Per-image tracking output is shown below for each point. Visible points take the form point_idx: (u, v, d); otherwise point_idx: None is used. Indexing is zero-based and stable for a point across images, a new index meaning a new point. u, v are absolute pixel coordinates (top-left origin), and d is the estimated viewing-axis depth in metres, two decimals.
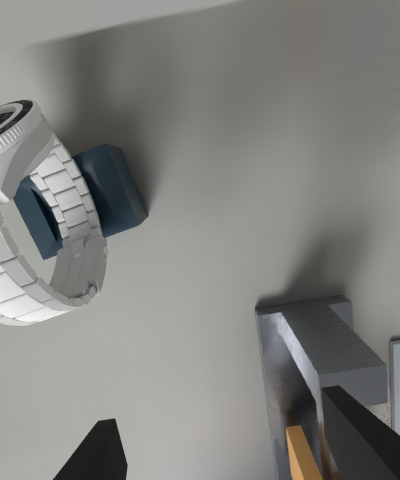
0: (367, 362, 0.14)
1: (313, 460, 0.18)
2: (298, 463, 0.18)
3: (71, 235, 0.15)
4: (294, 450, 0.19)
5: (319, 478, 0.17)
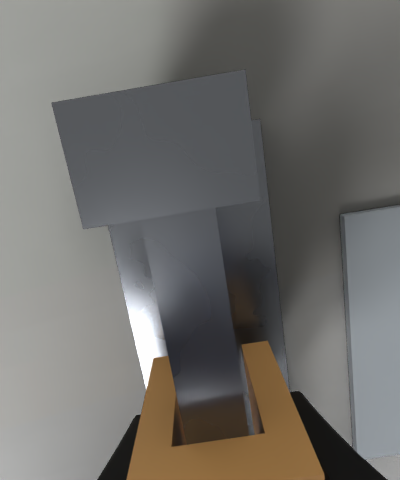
0: None
1: (171, 404, 0.09)
2: (143, 410, 0.09)
3: None
4: (148, 390, 0.10)
5: (167, 434, 0.08)
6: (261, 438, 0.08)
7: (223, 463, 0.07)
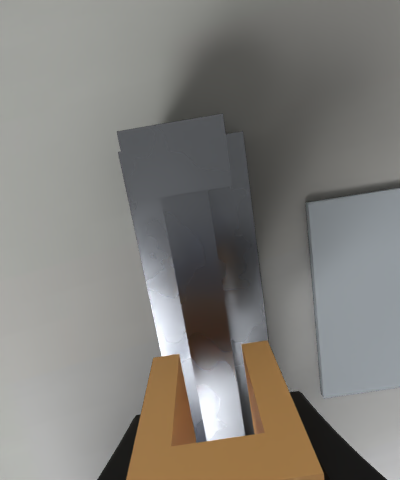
0: None
1: (171, 404, 0.09)
2: (143, 410, 0.09)
3: None
4: (147, 389, 0.10)
5: (166, 434, 0.08)
6: (261, 437, 0.08)
7: (223, 462, 0.07)
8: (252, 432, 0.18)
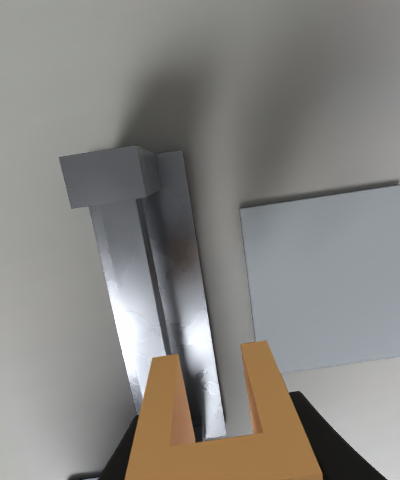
0: (121, 148, 0.12)
1: (170, 403, 0.09)
2: (142, 410, 0.09)
3: None
4: (146, 389, 0.10)
5: (165, 433, 0.08)
6: (259, 437, 0.08)
7: (221, 462, 0.07)
8: (198, 404, 0.21)
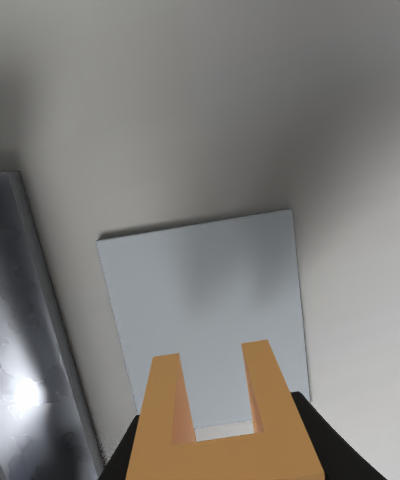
0: None
1: (171, 403, 0.09)
2: (143, 409, 0.09)
3: None
4: (147, 389, 0.10)
5: (166, 433, 0.08)
6: (261, 436, 0.08)
7: (223, 461, 0.07)
8: (67, 471, 0.18)
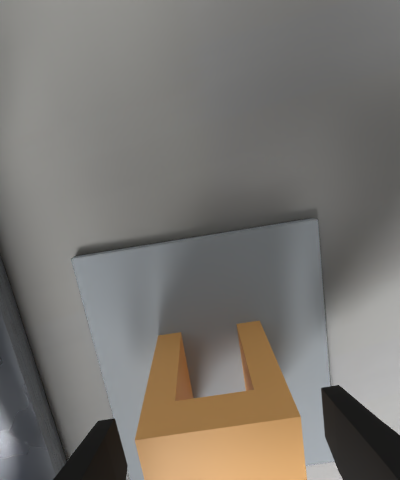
0: None
1: (175, 370, 0.11)
2: None
3: None
4: (154, 360, 0.11)
5: (171, 392, 0.10)
6: (250, 393, 0.09)
7: (218, 411, 0.09)
8: None
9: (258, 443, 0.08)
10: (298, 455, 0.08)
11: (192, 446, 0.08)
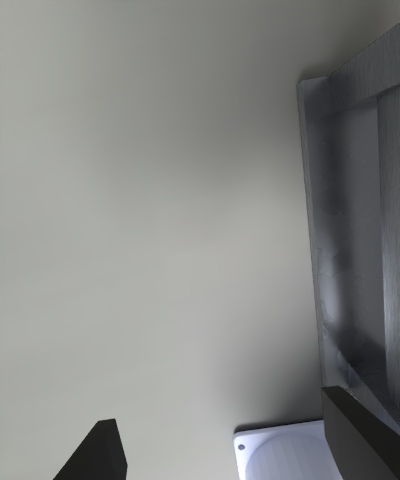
0: None
1: None
2: None
3: None
4: None
5: None
6: None
7: None
8: None
9: None
10: None
11: None
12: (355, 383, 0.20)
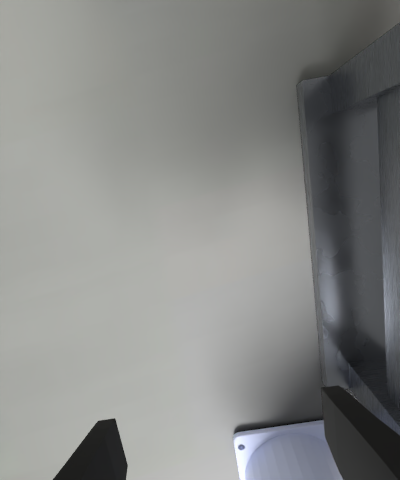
0: None
1: None
2: None
3: None
4: None
5: None
6: None
7: None
8: None
9: None
10: None
11: None
12: (355, 383, 0.20)
